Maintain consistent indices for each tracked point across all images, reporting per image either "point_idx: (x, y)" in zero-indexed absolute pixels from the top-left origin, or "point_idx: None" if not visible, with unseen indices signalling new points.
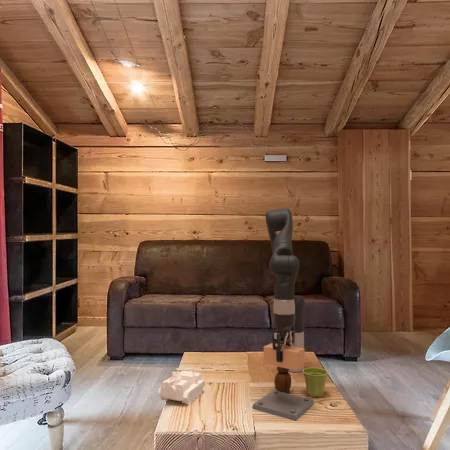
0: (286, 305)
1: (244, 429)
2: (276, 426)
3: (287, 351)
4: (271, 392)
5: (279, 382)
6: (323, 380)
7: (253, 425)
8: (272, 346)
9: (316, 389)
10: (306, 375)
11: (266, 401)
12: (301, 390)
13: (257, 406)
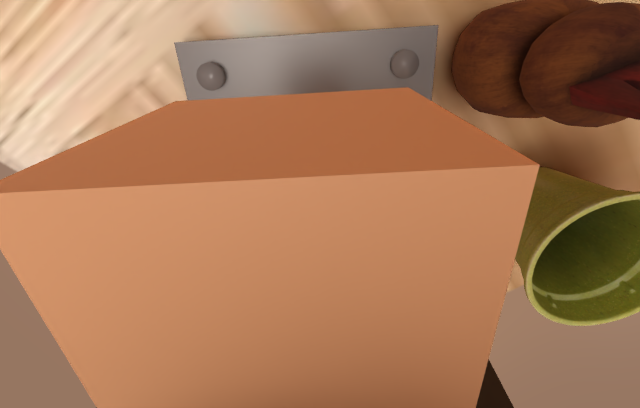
0: None
1: (7, 136)
2: None
3: None
4: (395, 35)
5: (464, 67)
6: (548, 289)
7: (64, 146)
8: (193, 341)
9: None
10: (541, 234)
11: (259, 86)
12: (556, 128)
13: (184, 74)
